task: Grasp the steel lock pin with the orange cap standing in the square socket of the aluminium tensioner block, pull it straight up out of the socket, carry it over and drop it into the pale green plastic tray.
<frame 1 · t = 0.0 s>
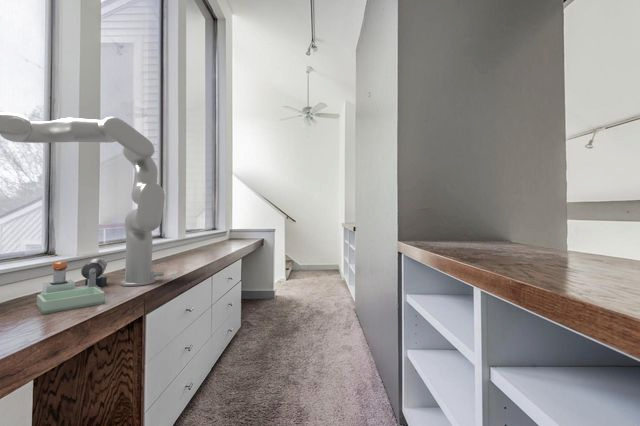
lock pin: (59, 291, 99), point 2 cm above the worktop, touching tensioner
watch: (96, 286, 117), on the worktop
tray: (71, 304, 92), on the worktop
tensioner: (72, 295, 102), on the worktop
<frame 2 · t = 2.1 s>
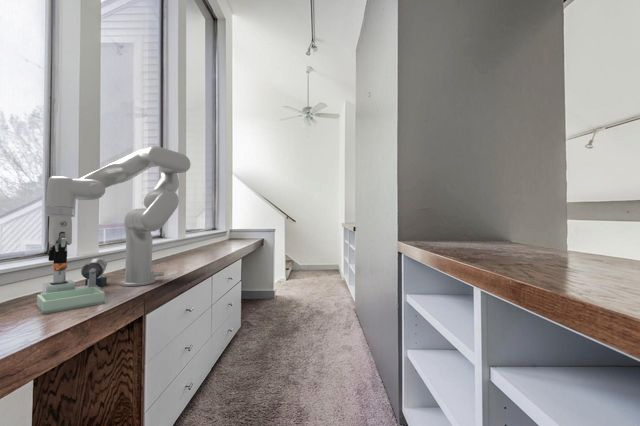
hand: (57, 262, 99), 12 cm above the worktop, fingers open, 9 cm apart
nothing on the worktop moved.
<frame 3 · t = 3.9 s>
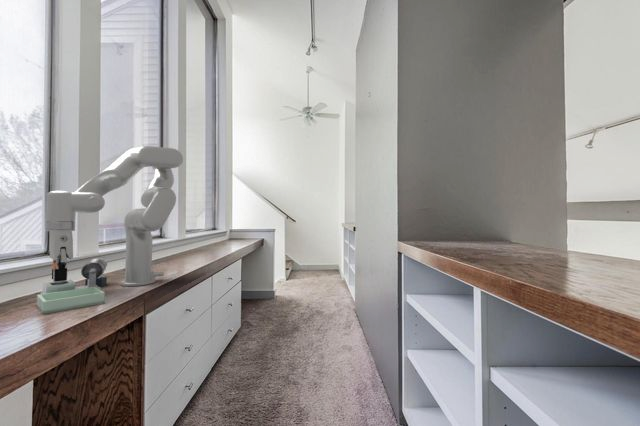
hand: (59, 279, 100), 6 cm above the worktop, fingers closed on lock pin, 3 cm apart
lock pin: (59, 291, 99), point 2 cm above the worktop, touching gripper, tensioner
everything else where it was.
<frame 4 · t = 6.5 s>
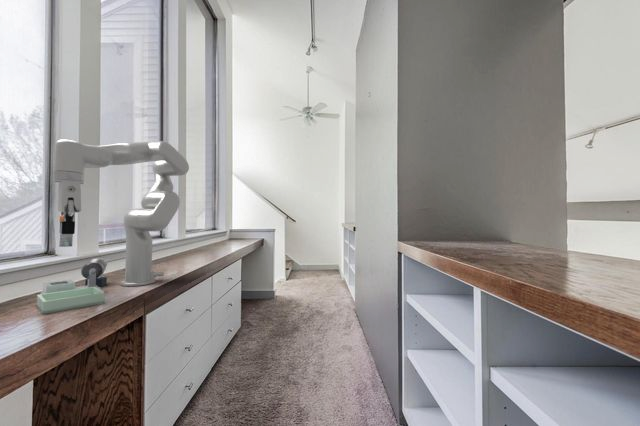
hand: (67, 233, 95), 23 cm above the worktop, fingers closed on lock pin, 3 cm apart
lock pin: (65, 246, 95), point 18 cm above the worktop, touching gripper
everything else where it was.
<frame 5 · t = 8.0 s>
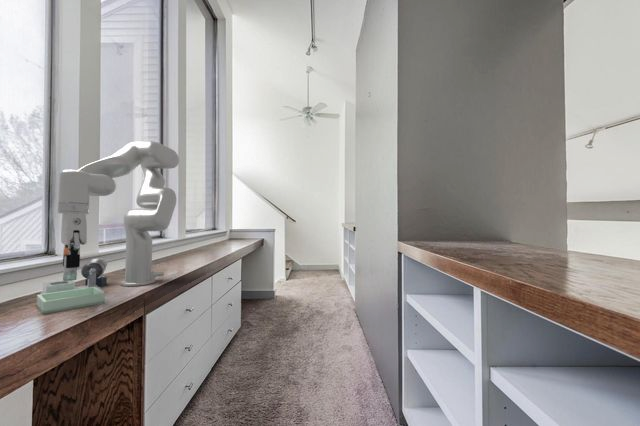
hand: (71, 266, 91), 12 cm above the worktop, fingers closed on lock pin, 3 cm apart
lock pin: (69, 280, 91), point 8 cm above the worktop, touching gripper
everything else where it was.
when the fingers open (7 cm above the worktop, at t = 9.3 s): lock pin drops 2 cm, resting on tray.
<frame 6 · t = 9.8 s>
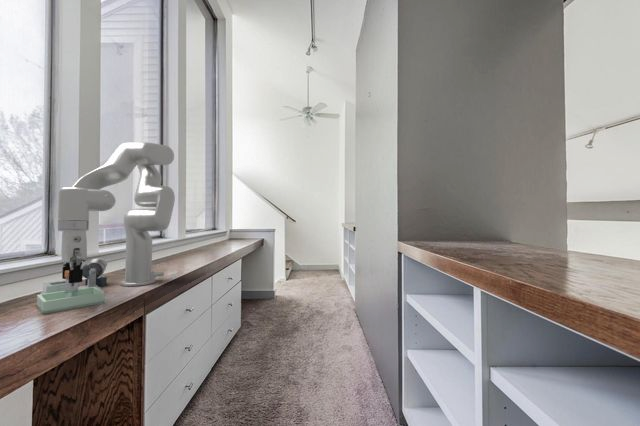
hand: (72, 280, 92), 8 cm above the worktop, fingers open, 9 cm apart
lock pin: (70, 301, 92), point 1 cm above the worktop, touching tray
everything else where it was.
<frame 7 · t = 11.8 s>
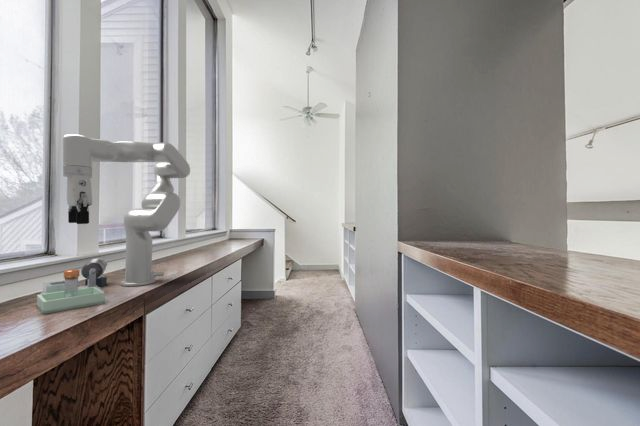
hand: (78, 223, 97), 26 cm above the worktop, fingers open, 9 cm apart
nothing on the worktop moved.
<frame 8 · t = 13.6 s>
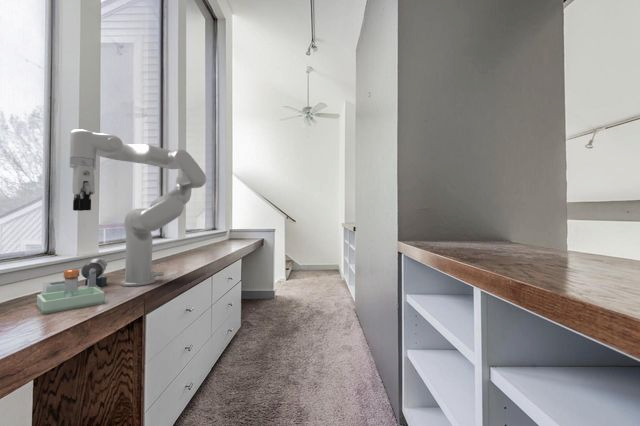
hand: (81, 210, 106), 30 cm above the worktop, fingers open, 9 cm apart
nothing on the worktop moved.
at the end: lock pin inside the target area on the tray (0.1 cm from its centre), point 0.8 cm above the tray's base; the gripper is holding nothing; lock pin moved 13.6 cm from its start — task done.
